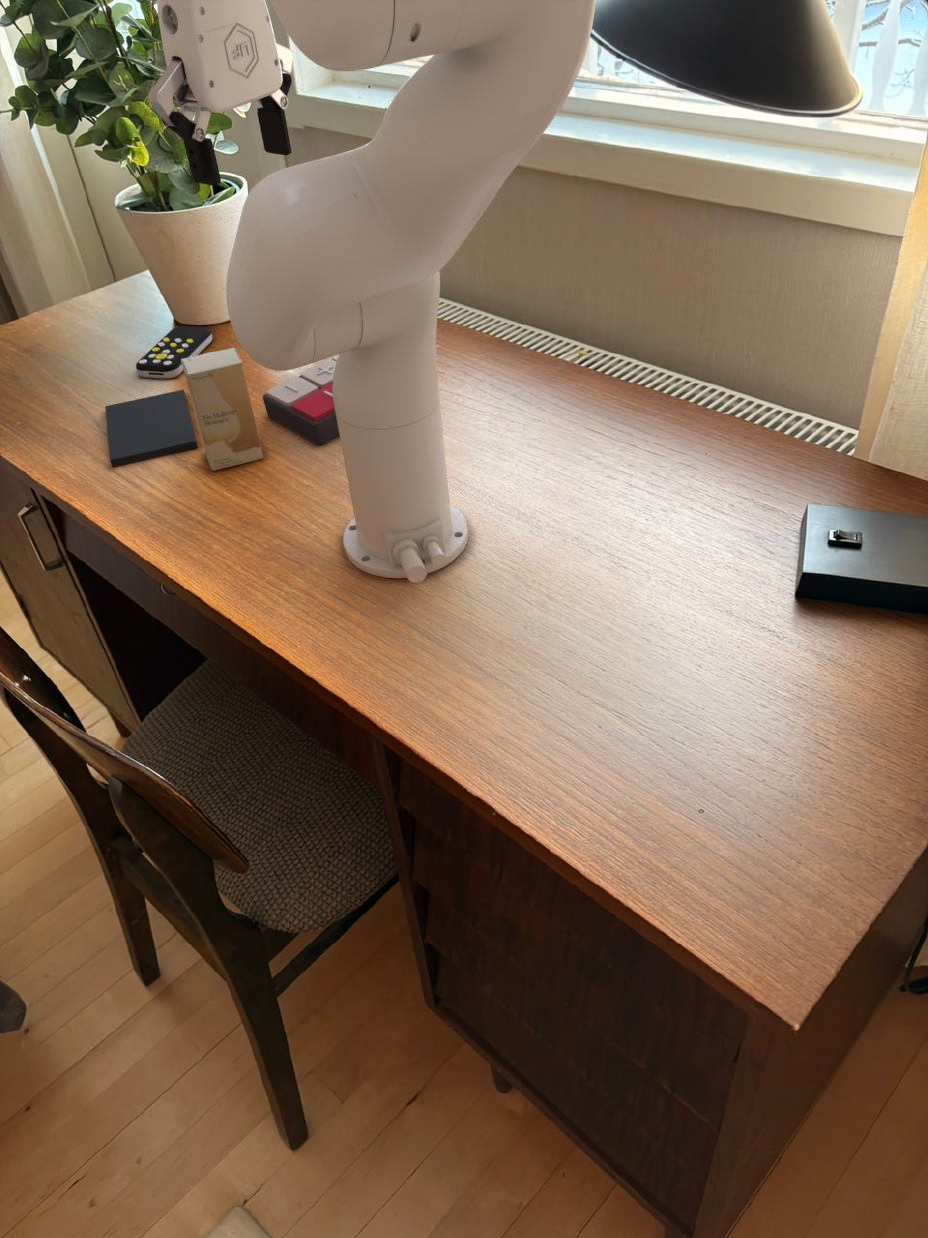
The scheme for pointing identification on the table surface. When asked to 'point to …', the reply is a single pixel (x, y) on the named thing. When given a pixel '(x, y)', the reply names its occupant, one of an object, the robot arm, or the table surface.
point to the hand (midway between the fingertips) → (244, 167)
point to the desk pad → (149, 428)
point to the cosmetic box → (223, 408)
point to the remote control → (173, 352)
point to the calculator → (306, 403)
